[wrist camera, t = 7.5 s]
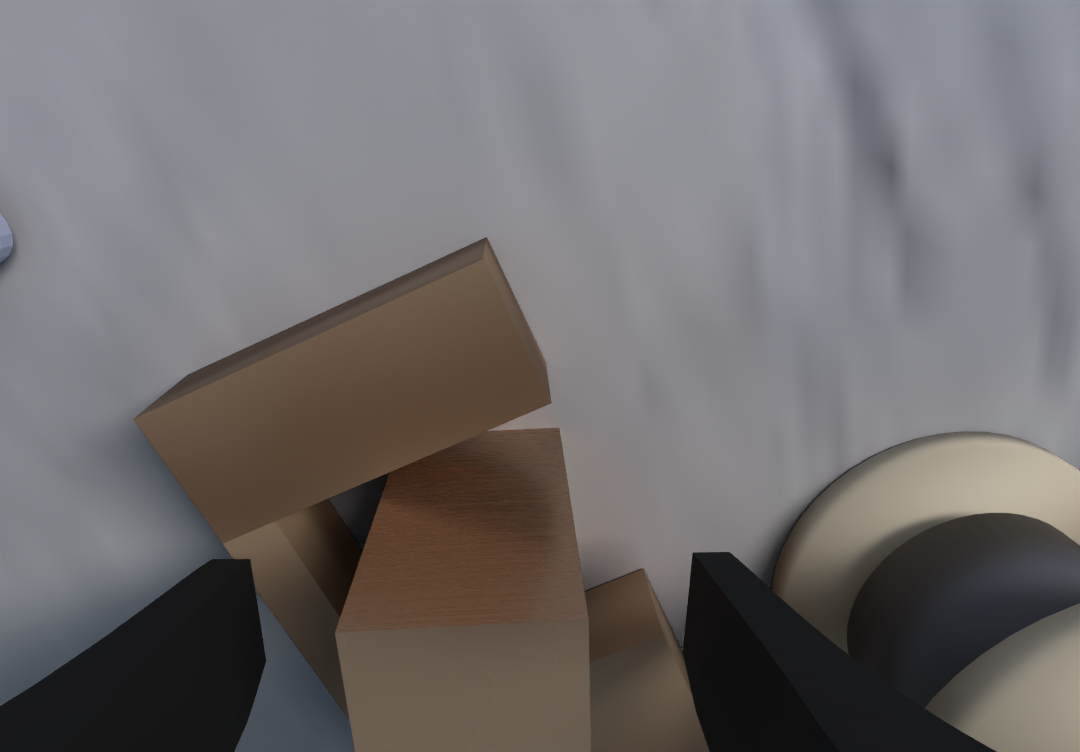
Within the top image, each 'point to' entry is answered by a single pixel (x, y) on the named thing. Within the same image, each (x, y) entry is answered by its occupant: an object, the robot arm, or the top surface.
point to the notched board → (393, 467)
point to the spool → (953, 582)
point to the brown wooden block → (470, 606)
